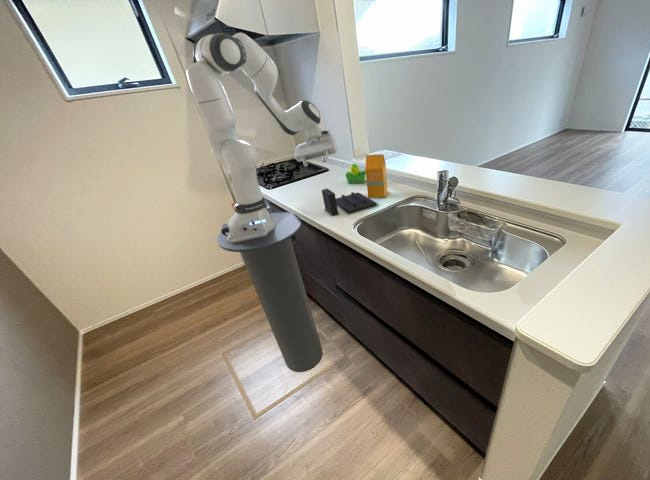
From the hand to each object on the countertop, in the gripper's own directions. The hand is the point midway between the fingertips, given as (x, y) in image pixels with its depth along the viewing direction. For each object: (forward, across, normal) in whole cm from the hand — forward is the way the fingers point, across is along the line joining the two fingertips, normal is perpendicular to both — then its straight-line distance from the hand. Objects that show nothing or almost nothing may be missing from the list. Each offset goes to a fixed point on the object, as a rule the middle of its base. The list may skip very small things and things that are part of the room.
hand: (314, 163), depth 135 cm
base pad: (+10, +12, +21) cm, 26 cm away
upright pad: (+17, +2, +15) cm, 23 cm away
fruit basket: (-18, +8, +39) cm, 44 cm away
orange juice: (+2, +22, +28) cm, 36 cm away
